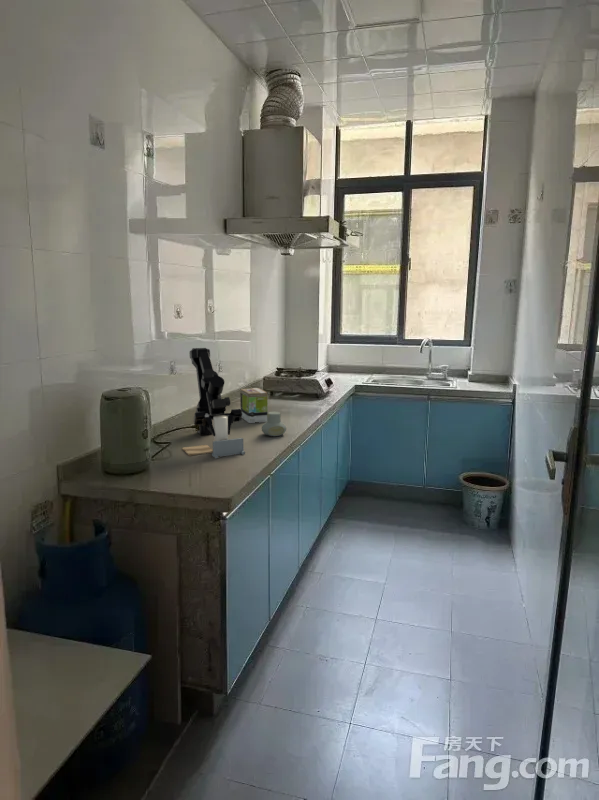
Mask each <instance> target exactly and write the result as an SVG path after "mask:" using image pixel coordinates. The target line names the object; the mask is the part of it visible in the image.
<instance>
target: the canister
mask: <svg viewBox="0 0 599 800" xmlns="http://www.w3.org/2000/svg"><path fill="white" fill-rule="evenodd" d="M212 422H213V428H214V432H215V436H213V441H220V440H228V439H229V435H228V416H224V415H219V416H214V417H213V420H212Z"/></svg>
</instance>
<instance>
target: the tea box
mask: <svg viewBox="0 0 599 800" xmlns="http://www.w3.org/2000/svg"><path fill="white" fill-rule="evenodd" d="M239 392H240V395H239V396H240V398H239V399H240V409H241V410H242V417H241V419H243V420H244V421H245V422H246V423H248V424H256V423H255V422H259V423H266V422H267V413H268V412H269V411H268V407H269V406H268V404H269V403H268V392H267V391H265V390H263V389H261V388H259V387H253V388H240V391H239Z"/></svg>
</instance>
